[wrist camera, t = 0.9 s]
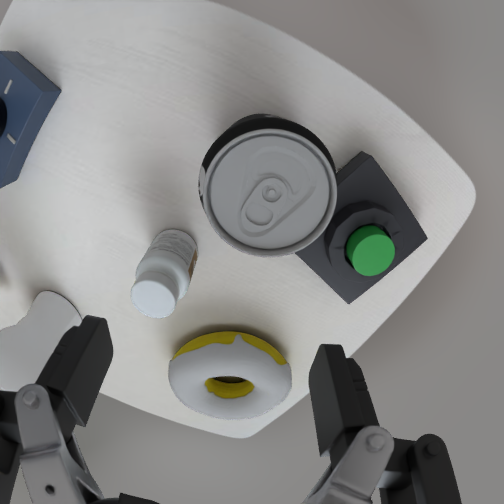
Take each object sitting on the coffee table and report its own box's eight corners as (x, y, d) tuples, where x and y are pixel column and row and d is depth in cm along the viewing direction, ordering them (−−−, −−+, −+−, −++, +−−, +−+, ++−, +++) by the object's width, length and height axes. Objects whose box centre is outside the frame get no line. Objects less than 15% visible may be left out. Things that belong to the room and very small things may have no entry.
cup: (17, 278, 29) (-48, 356, 15) (77, 282, 29) (8, 382, 15) (45, 340, 34) (1, 418, 20) (103, 349, 34) (63, 445, 20)
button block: (276, 227, 26) (280, 248, 22) (361, 150, 23) (380, 159, 19) (343, 292, 29) (353, 316, 26) (417, 229, 26) (437, 247, 22)
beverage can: (317, 139, 22) (374, 171, 12) (276, 205, 25) (295, 286, 14) (244, 99, 21) (237, 90, 10) (206, 170, 23) (169, 227, 13)
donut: (157, 370, 35) (149, 400, 31) (202, 302, 30) (195, 336, 25) (249, 405, 39) (249, 434, 34) (310, 351, 33) (317, 383, 29)
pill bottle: (181, 278, 28) (162, 332, 21) (145, 252, 27) (115, 300, 20) (208, 247, 27) (194, 299, 20) (169, 218, 25) (141, 262, 19)
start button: (337, 245, 23) (343, 256, 21) (371, 216, 21) (380, 224, 20) (361, 272, 24) (368, 284, 22) (393, 245, 23) (402, 255, 21)
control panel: (17, 180, 23) (-2, 189, 20) (-22, 136, 20) (-40, 143, 17) (62, 90, 19) (41, 91, 17) (17, 51, 16) (-3, 50, 14)
